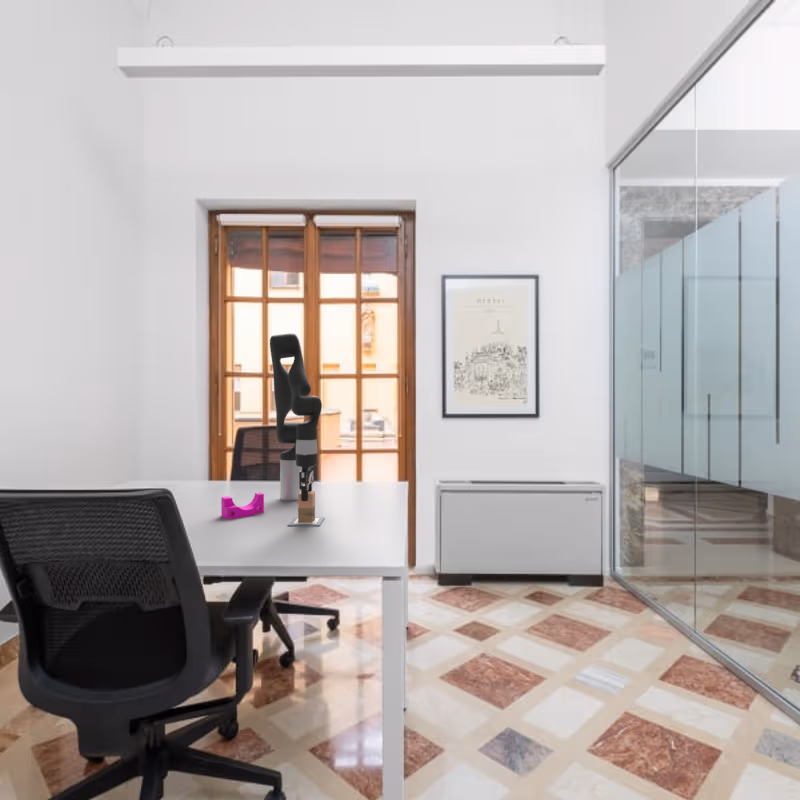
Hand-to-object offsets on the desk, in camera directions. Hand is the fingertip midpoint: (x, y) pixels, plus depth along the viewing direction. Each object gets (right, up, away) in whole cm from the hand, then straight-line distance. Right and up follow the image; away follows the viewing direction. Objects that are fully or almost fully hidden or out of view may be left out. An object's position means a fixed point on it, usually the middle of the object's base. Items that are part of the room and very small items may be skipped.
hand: (306, 498), depth 188 cm
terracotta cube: (0, -3, 0) cm, 3 cm away
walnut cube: (0, -8, 0) cm, 8 cm away
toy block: (-26, -9, +12) cm, 30 cm away
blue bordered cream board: (0, -9, 0) cm, 9 cm away
